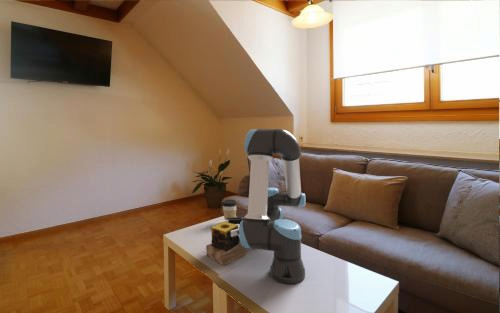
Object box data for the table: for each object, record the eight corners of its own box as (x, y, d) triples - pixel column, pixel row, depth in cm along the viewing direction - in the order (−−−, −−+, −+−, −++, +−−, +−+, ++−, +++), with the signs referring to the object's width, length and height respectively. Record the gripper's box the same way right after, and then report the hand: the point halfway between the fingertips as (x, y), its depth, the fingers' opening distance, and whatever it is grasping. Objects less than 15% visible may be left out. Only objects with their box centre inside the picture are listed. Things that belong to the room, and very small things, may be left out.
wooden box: (245, 256, 135) (245, 245, 134) (223, 267, 126) (223, 255, 125) (228, 247, 145) (228, 236, 144) (206, 256, 136) (206, 245, 135)
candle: (226, 252, 128) (225, 232, 126) (210, 246, 134) (210, 227, 132) (239, 244, 136) (239, 225, 134) (224, 239, 142) (223, 221, 140)
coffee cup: (240, 222, 179) (240, 200, 177) (231, 227, 170) (231, 204, 168) (228, 219, 184) (227, 198, 182) (219, 224, 176) (218, 202, 174)
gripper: (273, 233, 136) (237, 245, 124) (245, 219, 156) (212, 228, 144) (272, 219, 135) (237, 230, 123) (245, 207, 155) (212, 215, 143)
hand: (223, 229), depth 134 cm, fingers open, 13 cm apart
